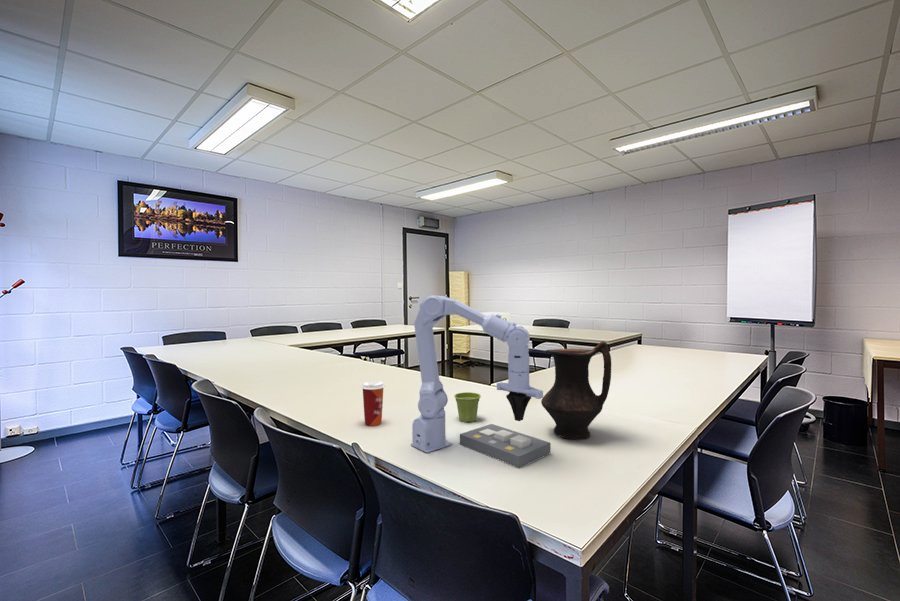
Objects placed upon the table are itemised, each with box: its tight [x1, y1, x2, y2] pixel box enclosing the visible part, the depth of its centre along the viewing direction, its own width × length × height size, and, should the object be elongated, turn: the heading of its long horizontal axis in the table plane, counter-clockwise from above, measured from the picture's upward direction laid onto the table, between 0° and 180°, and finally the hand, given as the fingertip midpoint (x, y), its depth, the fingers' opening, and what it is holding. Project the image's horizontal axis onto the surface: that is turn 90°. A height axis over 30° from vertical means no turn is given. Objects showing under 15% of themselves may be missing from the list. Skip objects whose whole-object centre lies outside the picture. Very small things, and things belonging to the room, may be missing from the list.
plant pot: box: [453, 391, 482, 423], centre depth 139 cm, size 9×9×9 cm
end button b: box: [510, 435, 531, 449], centre depth 108 cm, size 4×4×3 cm
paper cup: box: [361, 380, 385, 427], centre depth 135 cm, size 8×8×14 cm
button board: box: [459, 423, 552, 469], centre depth 112 cm, size 14×22×3 cm, turn 42°
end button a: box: [479, 429, 496, 437], centre depth 117 cm, size 4×4×3 cm
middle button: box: [494, 430, 514, 443], centre depth 112 cm, size 4×4×3 cm
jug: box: [540, 340, 612, 440], centre depth 123 cm, size 21×18×30 cm
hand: (519, 419), depth 108 cm, fingers closed
